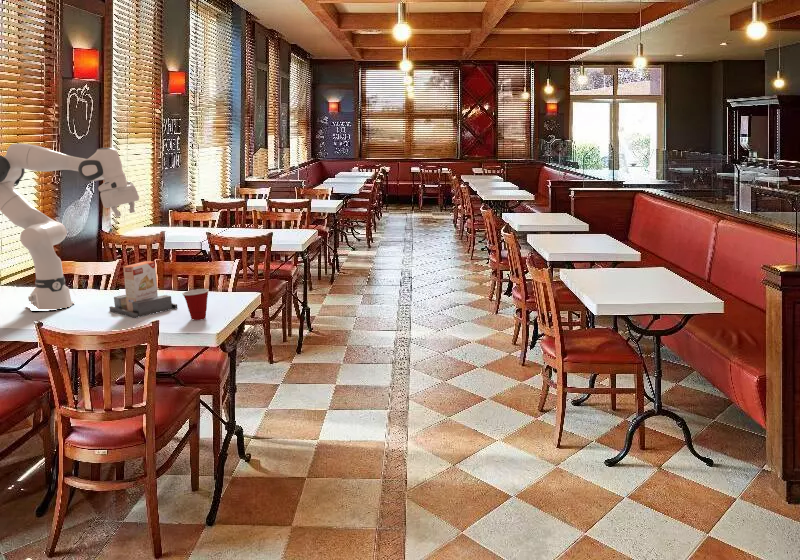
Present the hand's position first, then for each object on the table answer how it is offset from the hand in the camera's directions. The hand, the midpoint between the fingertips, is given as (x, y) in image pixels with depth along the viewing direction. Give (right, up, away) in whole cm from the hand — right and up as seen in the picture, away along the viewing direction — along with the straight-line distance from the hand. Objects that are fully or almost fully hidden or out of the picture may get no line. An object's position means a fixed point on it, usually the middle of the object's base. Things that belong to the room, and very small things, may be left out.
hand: (125, 214), depth 321 cm
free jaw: (+3, -41, +4) cm, 42 cm away
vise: (+9, -43, -1) cm, 43 cm away
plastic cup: (+37, -45, -19) cm, 62 cm away
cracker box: (+8, -43, -1) cm, 43 cm away
